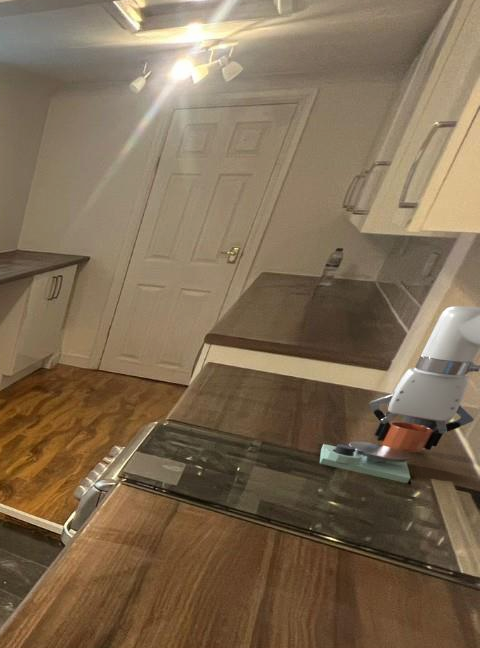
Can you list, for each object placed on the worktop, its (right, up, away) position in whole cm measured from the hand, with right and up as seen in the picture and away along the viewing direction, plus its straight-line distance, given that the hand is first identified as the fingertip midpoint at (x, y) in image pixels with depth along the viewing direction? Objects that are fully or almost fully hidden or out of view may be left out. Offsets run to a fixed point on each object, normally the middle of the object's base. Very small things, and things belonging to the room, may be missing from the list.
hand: (402, 443), depth 131 cm
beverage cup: (+9, -1, +8) cm, 12 cm away
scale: (-11, -5, -2) cm, 13 cm away
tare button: (-17, -3, -3) cm, 17 cm away
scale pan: (-9, -5, -2) cm, 11 cm away
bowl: (0, -1, 0) cm, 1 cm away
